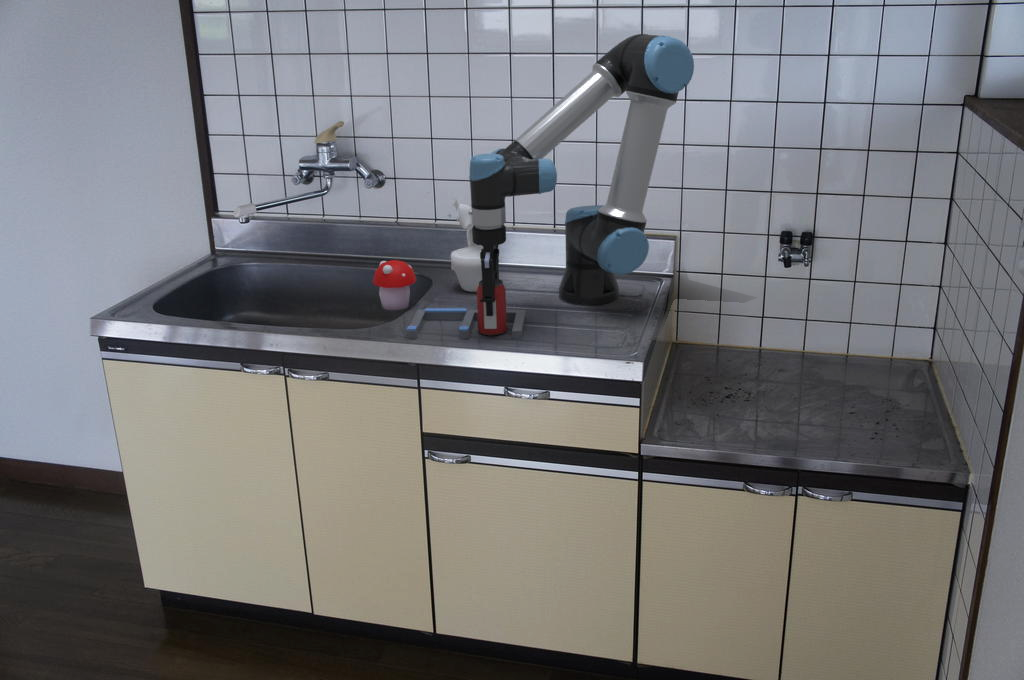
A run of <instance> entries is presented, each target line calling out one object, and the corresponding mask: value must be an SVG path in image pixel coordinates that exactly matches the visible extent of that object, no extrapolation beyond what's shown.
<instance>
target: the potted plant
mask: <svg viewBox="0 0 1024 680" xmlns="http://www.w3.org/2000/svg"><path fill="white" fill-rule="evenodd" d="M452 206H454V208H455V210H456V211H458V213H459V214H458V216H456V218H455V220H456V222H457V223H459V225H460V226H461V227H462V229H464V230H466V233H465V234H466V241H467V245H468V246H464V248H463V247H462V248H458V249H455V250H452V251H451V253H450V265H451V267H450V268H451V270H452V271H454V272H455V275H456V276H457V280H458V282H459V285H460V288H461V289H462V290H464V291H466V292H470V293H473V292H474V293H477V288H478V285H479V282H480V281H481V280H482V270H481V259H480V252H481V250H482V249H483V246H481V245H476V244H475V245H474V243H473V240H472V227H473V226H474V225H473V224H472V216H473V215H470V214H469V211H471V210H472V209H471V208H472V207H471V206H470V205H468V204H464V203H458V201H457V199H455V201H454V203H453V204H452ZM447 217H449V219H451V217H452V214H451V213H450V211H449V213H448V215H447Z"/></svg>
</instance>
